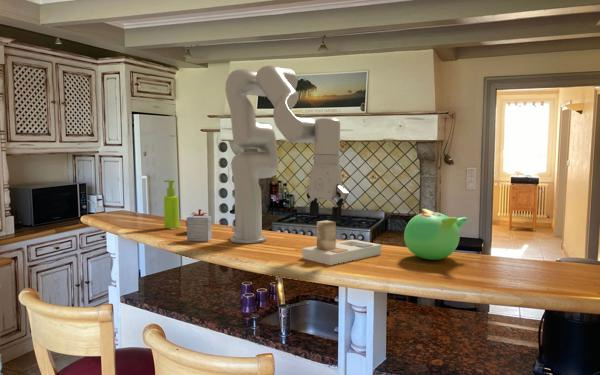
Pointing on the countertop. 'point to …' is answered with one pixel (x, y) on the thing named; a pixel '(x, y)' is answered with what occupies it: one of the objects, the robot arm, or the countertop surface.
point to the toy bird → (433, 234)
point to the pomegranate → (197, 215)
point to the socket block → (342, 252)
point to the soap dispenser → (171, 207)
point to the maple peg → (326, 235)
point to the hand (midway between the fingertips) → (325, 217)
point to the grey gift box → (199, 228)
